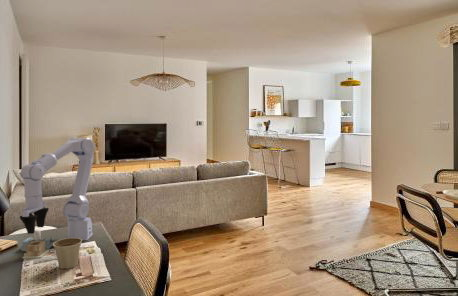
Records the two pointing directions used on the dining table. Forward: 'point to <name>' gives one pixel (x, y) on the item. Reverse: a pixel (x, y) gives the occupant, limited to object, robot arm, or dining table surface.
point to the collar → (35, 248)
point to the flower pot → (67, 252)
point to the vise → (37, 237)
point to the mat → (36, 256)
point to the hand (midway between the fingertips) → (36, 230)
